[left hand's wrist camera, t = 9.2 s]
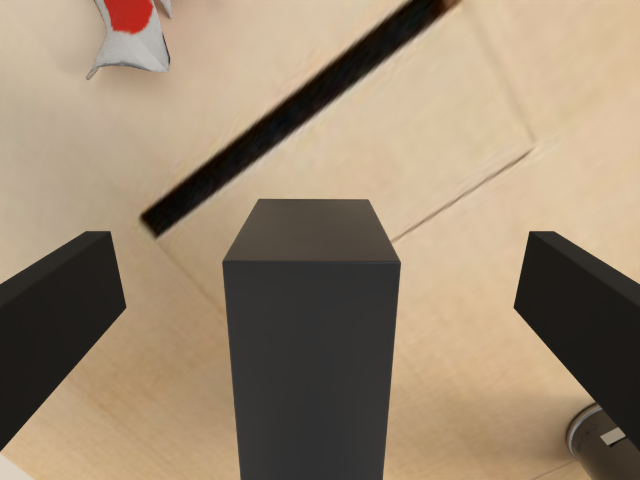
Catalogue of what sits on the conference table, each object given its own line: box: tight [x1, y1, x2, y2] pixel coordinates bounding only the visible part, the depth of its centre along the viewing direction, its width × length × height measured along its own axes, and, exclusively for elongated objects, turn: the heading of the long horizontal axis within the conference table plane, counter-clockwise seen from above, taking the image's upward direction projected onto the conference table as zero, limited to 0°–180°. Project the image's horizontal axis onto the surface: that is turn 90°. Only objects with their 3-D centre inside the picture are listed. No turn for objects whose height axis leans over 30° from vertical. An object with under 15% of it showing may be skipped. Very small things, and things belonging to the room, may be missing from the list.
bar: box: [222, 199, 401, 480], centre depth 20 cm, size 24×6×8 cm, turn 0°
